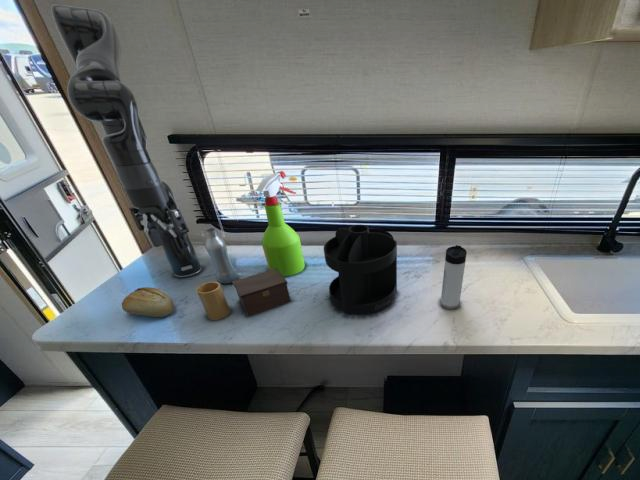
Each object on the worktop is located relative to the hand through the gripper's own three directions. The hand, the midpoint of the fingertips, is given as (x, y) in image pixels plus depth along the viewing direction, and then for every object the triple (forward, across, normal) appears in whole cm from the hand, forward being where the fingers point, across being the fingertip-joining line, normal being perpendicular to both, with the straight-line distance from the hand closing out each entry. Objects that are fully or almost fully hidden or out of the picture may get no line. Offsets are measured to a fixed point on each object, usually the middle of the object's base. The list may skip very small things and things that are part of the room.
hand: (171, 247), depth 83 cm
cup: (+25, -1, -5) cm, 25 cm away
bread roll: (+24, +20, +1) cm, 31 cm away
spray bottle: (+24, -5, -39) cm, 46 cm away
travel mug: (+27, -70, -33) cm, 82 cm away
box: (+25, -11, -15) cm, 31 cm away
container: (+26, -41, -27) cm, 56 cm away
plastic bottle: (+24, +10, -22) cm, 34 cm away
